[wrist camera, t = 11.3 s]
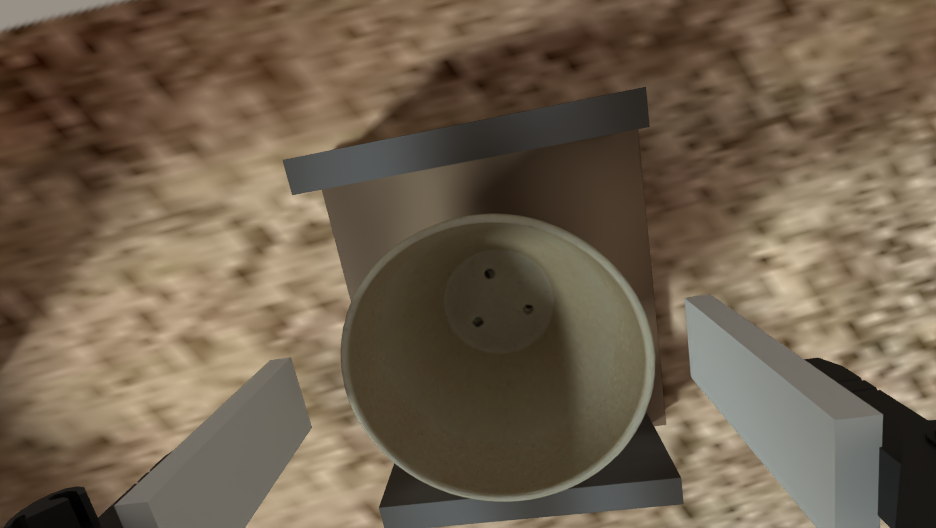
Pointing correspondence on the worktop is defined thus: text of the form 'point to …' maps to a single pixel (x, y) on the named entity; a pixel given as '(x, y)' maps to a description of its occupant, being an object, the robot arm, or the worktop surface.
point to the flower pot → (497, 357)
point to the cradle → (488, 192)
